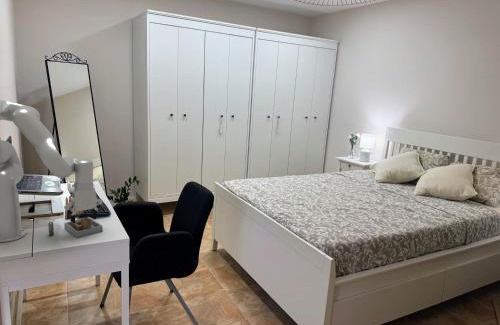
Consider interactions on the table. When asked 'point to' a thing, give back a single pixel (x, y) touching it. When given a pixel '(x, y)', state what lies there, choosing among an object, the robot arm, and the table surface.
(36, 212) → the table surface
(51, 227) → the stake
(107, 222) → the table surface
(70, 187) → the figurine
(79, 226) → the wooden block toy
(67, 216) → the ammunition clip
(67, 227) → the tray
